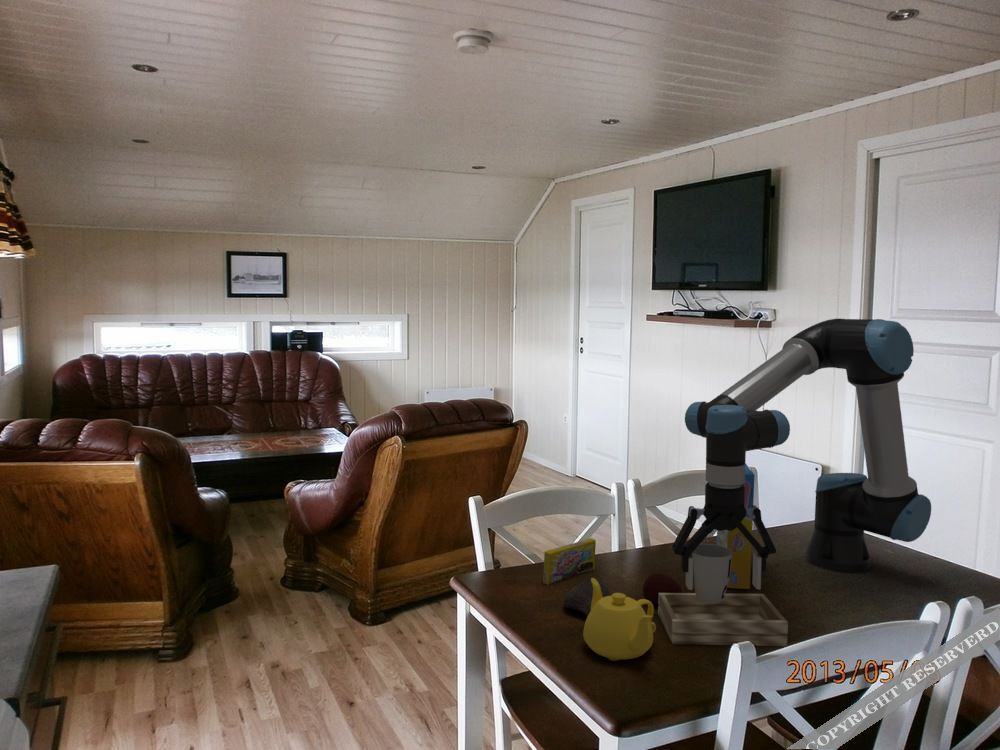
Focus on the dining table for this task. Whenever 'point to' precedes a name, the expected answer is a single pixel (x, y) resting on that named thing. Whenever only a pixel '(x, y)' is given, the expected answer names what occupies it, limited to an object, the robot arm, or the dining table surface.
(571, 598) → the stone
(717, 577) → the cup
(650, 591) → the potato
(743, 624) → the tray
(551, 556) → the candy box
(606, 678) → the dining table surface
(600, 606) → the teapot
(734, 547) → the game box
